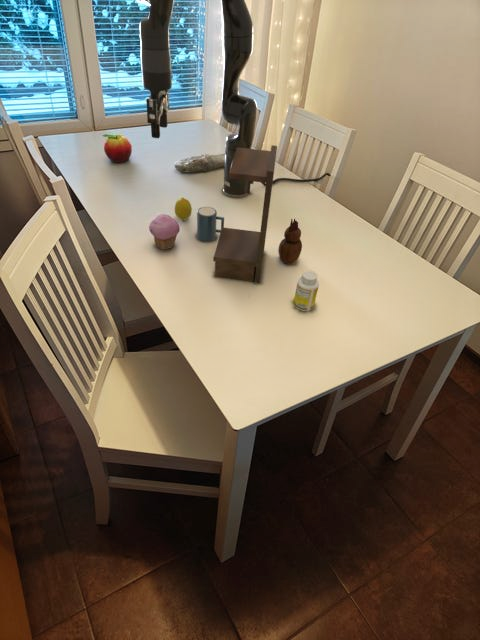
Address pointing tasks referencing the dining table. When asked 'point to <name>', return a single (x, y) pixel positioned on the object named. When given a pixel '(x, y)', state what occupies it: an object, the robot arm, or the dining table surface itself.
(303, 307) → the supplement bottle
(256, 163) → the shelf
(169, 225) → the cupcake
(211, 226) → the mug
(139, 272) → the dining table surface
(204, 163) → the elongated rock
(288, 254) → the wooden figurine
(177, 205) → the lemon
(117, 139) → the fruit
